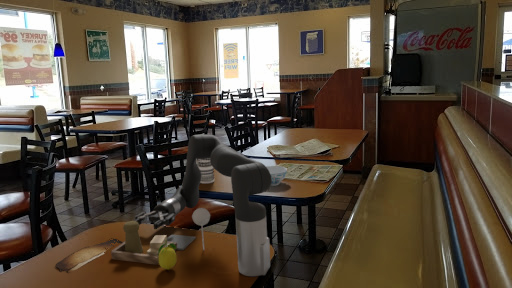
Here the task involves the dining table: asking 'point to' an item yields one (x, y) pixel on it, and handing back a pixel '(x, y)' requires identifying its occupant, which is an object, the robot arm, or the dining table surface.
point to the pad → (181, 240)
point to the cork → (132, 237)
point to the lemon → (167, 256)
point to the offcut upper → (158, 242)
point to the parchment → (84, 256)
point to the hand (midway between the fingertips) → (144, 225)
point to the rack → (135, 255)
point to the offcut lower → (153, 252)
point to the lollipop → (201, 219)
